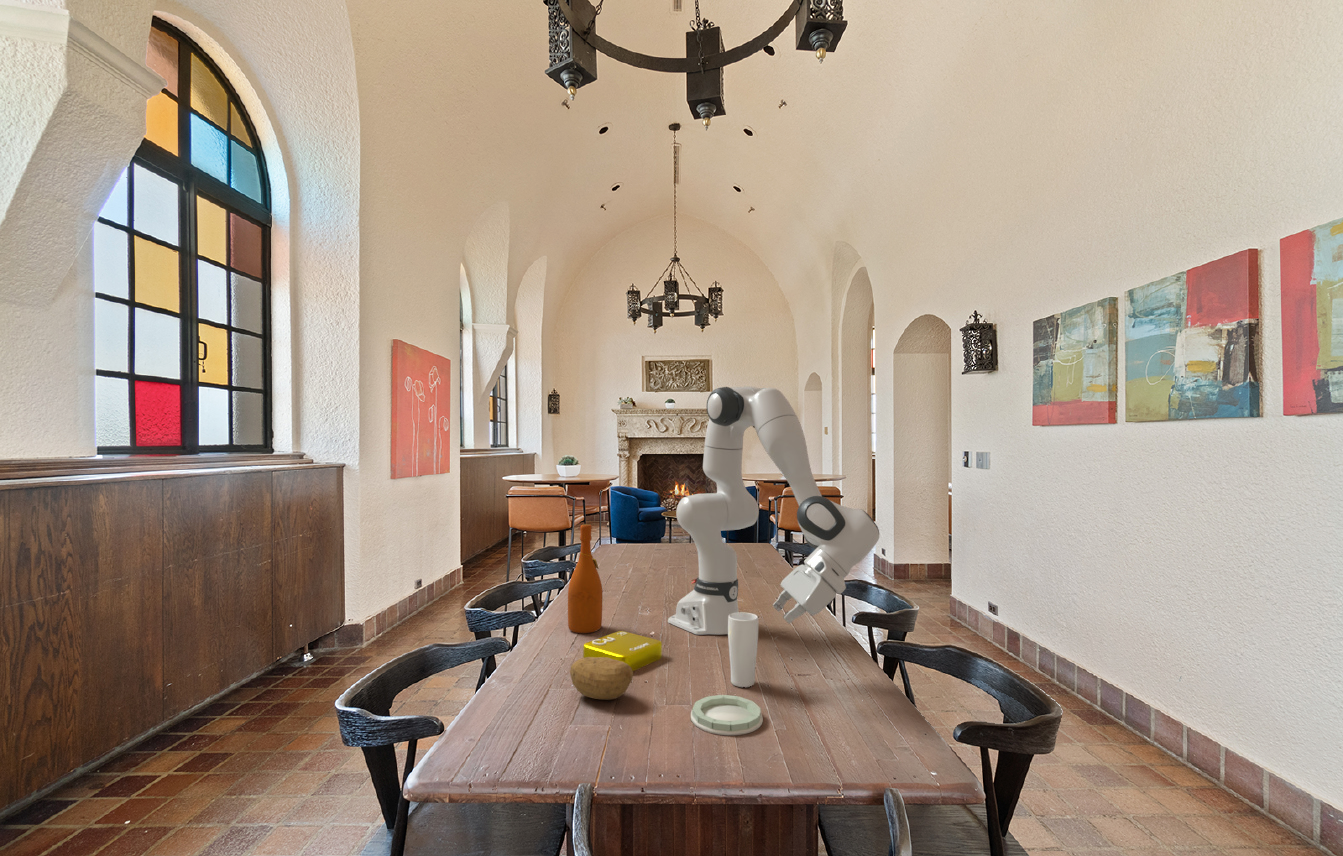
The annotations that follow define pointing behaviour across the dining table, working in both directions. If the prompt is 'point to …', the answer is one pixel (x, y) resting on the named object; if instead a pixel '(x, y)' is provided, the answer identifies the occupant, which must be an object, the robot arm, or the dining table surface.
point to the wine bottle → (585, 590)
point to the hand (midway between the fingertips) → (780, 614)
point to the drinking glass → (742, 647)
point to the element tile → (625, 649)
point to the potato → (601, 677)
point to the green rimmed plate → (726, 715)
